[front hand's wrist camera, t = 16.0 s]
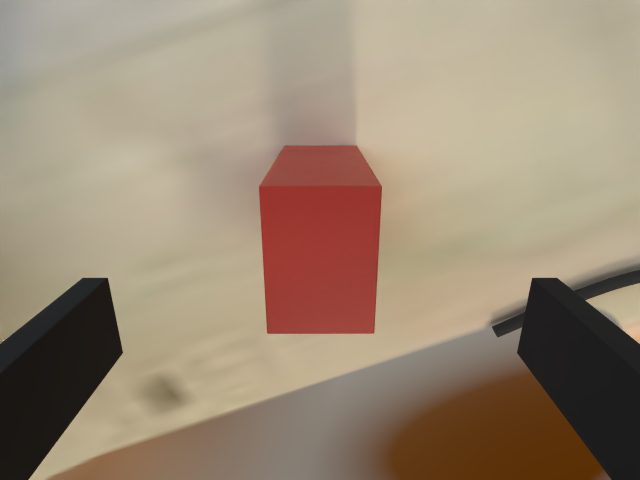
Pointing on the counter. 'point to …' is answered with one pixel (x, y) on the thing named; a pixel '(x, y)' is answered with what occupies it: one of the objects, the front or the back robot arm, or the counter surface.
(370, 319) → the brick
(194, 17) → the counter surface
